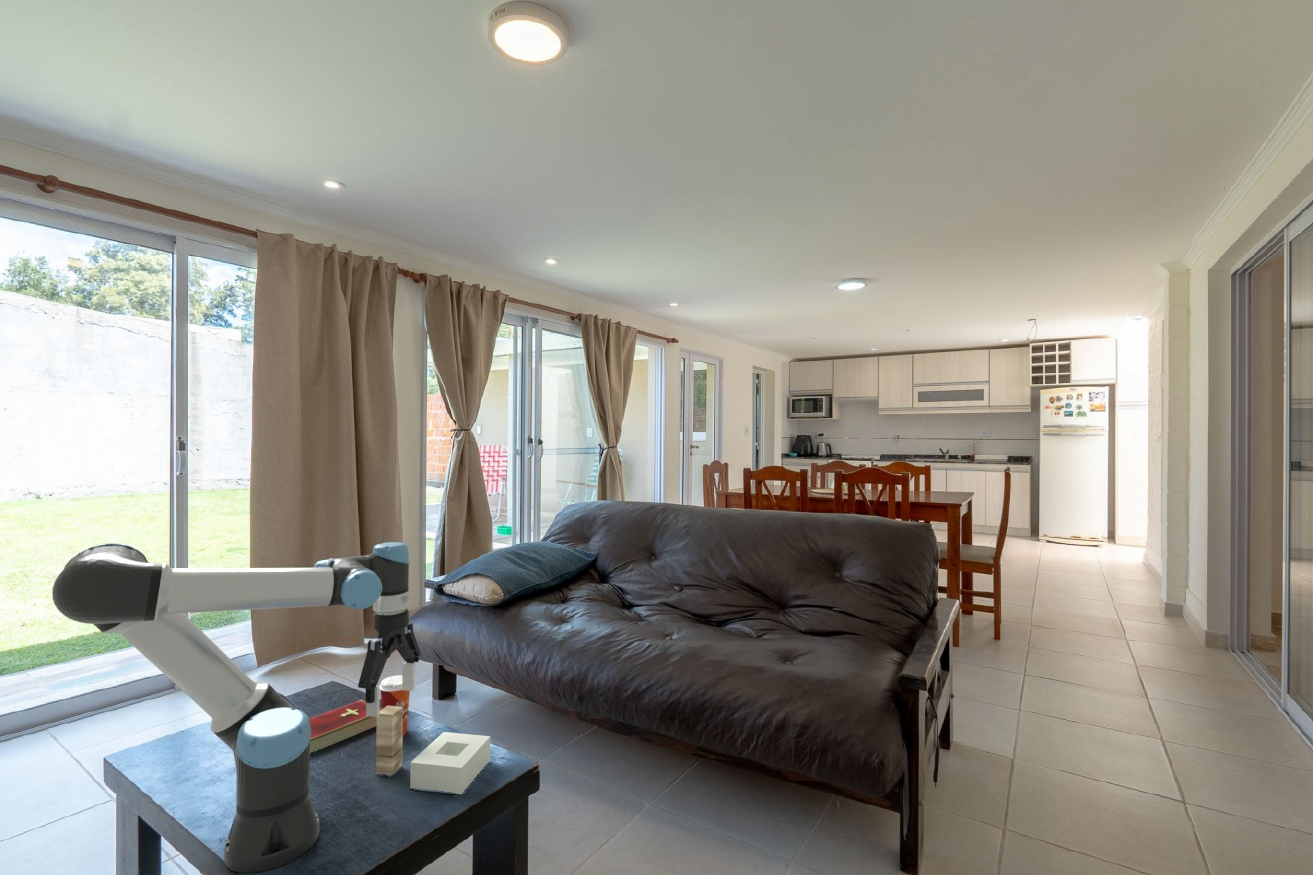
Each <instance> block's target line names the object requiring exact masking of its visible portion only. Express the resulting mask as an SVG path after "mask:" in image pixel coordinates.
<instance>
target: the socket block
mask: <svg viewBox="0 0 1313 875" xmlns="http://www.w3.org/2000/svg"><path fill="white" fill-rule="evenodd" d="M489 761H490V762H491V736H490V735H479V734H468V733H458V732H451V731H443V732H442V733H441V734H440V735H439V736H437V737H436V738H435V739H434V740H433V741H432V742H431V743H430V744H429V745H428V746H426V748H424V749H423V750H422V751H421V752H420V753H419V754H418V755H417V756H416V757H414V759H412V761H411V762H410V766H409V767H410V769H409V770H410V776H409V777H410V784H409V789H410V788H416V789H419V788H420V789H429V790H437V791H444V792H452V793H456V794H462V793H463V792H464V790H465V789H466V788H467V787H468V786H469V785H470V783H471V782H472V781H473V779H474V778H475V777H476V776H477V774H479V773H480V771H481V770H482V769H483V767H484V766H485V765H486V764H487V763H488V762H489ZM490 762H489V763H490ZM480 774H481V773H480ZM480 774H479V775H480ZM473 782H474V781H473ZM470 786H471V785H470ZM470 786H469V787H470ZM469 787H468V788H469ZM464 793H465V792H464ZM464 793H463V794H464Z"/></svg>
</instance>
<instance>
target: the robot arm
mask: <svg viewBox="0 0 1313 875" xmlns="http://www.w3.org/2000/svg"><path fill="white" fill-rule="evenodd" d="M409 576H410V554H409V547H408V545H407V544H406V543H404V542H399V541H398V542H397V541H395V542H394V541H391V542H390V541H387V542H383V543H378V544H375V545H374V547H373V551H372V553H370V554H365V555H357V556H356V555H355V556H348V557H338V558H334V557H331V558H329V559H324V560H318V561H317V562H315V564H314V565H313V567H246V568H245V567H241V568H239V567H234V568H233V567H226V568H223V567H222V568H213V567H212V568H211V567H210V568H173V567H171V566H170V565H168V564H167V563H166V562H149V561H148V558H147V557H146V556H145V554H144V553H143V552H142V551H140V550H139V549H137V548H134V547H133V546H130V545H127V544H123V543H116V542H115V543H114V542H113V543H112V542H111V543H110V542H109V543H103V544H98V545H94V546H91V547H88V548H87V549H85V550H83V551H80V552H78V553H77V554H76V555H75V556H73V557H72V558H70V560H68V562H67V563H66V564H65V565H64V567H63V569H62V570H61V571H60V573H59V574H58V576H57V577H56V578H55V580H54V583H53V586H52V595H51V596H52V601H53V603H54V605H55V607H56V609H57V611H58V612H59V613H61V614H62V615H63V616H64V617H66V618H67V619H69V620H72V621H75V622H78V623H83V624H90V625H94V627H96V628H97V629H98V630H99V631H100V632H101V633H103V634H120V636H122V637H123V638H124V639H125V640H126V641H127V642H128V643H130V645H132V646H133V647H134V648H135V649H136V650H137V651H138V652H140V654H142V655H143V656H144V657H145V658H146V659H147V660H149V662H150V663H152V665H153V666H154V667H156V668H157V669H158V670H159V671H160V672H161V673H163V674H164V676H166V677H167V678H168V679H169V680H170V681H171V682H172V683H173V684H175V685H176V686H177V687H178V688H179V689H180V690H181V691H183V693H184V694H185V695H187V696H188V697H189V698H190V699H191V700H192V701H193V702H194V703H195V704H197V706H199V707H200V708H201V709H202V710H203V711H204V712H205V713H206V714H207V715H208V716H209V717H211V723H210V731H211V732H212V733H213V734H215V735H216V737H218V739H220V740H221V742H223V743H224V744H226V745H227V747H228V748H229V749H230V750H231V751H232V752H233V759H234V764H235V770H236V772H235V773H236V799H235V800H236V803H235V804H236V806H235V808H236V809H235V815H234V819H233V822H232V824H231V827H230V828H229V829H230V830H229V833H228V836H227V839H226V840H225V842H224V843H225V844H224V849H223V863H224V866H225V867H226V868H227V869H229V870H230V871H233V872H236V873H242V874H243V873H244V874H249V873H251V874H252V873H253V874H254V873H259V872H265V871H268V870H272V869H275V868H278V867H281V866H283V865H285V864H288V863H290V862H292V861H294V860H295V859H297V858H299V857H300V856H302V855H304V854H305V853H306V852H308V851H309V850H310V849H311V848H312V847H313V846H314V844H315V843H316V842H317V840H318V838H319V835H320V818H319V814H318V813H317V812H316V811H315V806H314V803H313V800H312V797H311V795H310V776H311V774H310V772H311V770H310V768H311V767H310V766H311V756H310V754H311V753H310V739H311V727H310V721H309V719H310V718H309V716H308V715H307V714H306V712H304V711H303V710H301V709H297V708H295V705H294V702H292V701H291V700H290V698H289V697H287V696H286V695H284V694H282V693H280V692H279V691H277V690H276V689H274V688H273V687H272V685H270V683H269V682H267V681H265V680H264V681H263V680H262V681H253V679H251V678H250V677H249V675H247V674H246V673H245V672H244V671H243V670H242V669H241V668H240V667H239V666H238V665H237V664H236V663H235V662H234V661H233V660H232V659H231V658H230V657H229V656H228V655H227V654H226V653H225V652H224V651H222V649H221V648H220V647H219V646H217V644H215V643H214V641H212V640H211V639H210V637H208V635H206V634H205V632H204V631H202V630H201V628H199V627H198V626H197V625H196V624H195V622H193V621H192V619H190V618H189V617H188V616H187V615H186V614H188V613H207V612H209V613H210V612H228V611H249V610H250V611H251V610H271V609H272V610H274V609H275V610H276V609H289V608H290V609H292V608H294V609H295V608H312V607H313V608H314V607H315V608H316V607H317V608H318V607H338V606H339V607H341V606H342V607H343V606H345V607H346V606H347V607H348V608H351V609H354V610H364V609H367V608H369V607H371V606H373V607H372V610H373V612H374V613H373V614H372V615H373V619H372V620H373V629H374V631H376V632H377V639H370V640H368V642H367V651H366V654H365V660H364V662H363V665H362V669H361V674H360V677H359V680H358V685H357V688H358V689H365V701H366V716H371V717H378V716H379V707H380V689H379V687H380V685H378V683H379V680H380V679H381V676H382V673H383V670H384V668H385V666H386V663H387V661H388V659H389V658H390V657H391V655H392V653H394V652H395V651H397V652H398V654H399V655H400V656H401V657H402V659H403V661H404V662H403V663H402V664H401V668H402V674H401V675H402V690H405V691H410V692H413V691H415V663H419V661H420V656H421V650H420V647H419V644H418V641H417V638H416V636H415V632H414V626H413V625H414V624H413V623H412V622H410V610H409V609H408V608H409V606H410V605H409V604H410V603H409V601H410V597H409V594H410V593H409V592H410V589H409V588H410V587H409V586H410V582H409V581H410V580H409V579H410V577H409Z"/></svg>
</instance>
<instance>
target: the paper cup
mask: <svg viewBox="0 0 1313 875" xmlns="http://www.w3.org/2000/svg"><path fill="white" fill-rule="evenodd" d="M379 691H380V705H381V707H380V708H382V709H383V708H385V707H386V706H396V707H403V737H405V735H406V734H407V731H408V722H409V719H408V718H409V707H410V705H409V704H410V692H411V691H405V690H402V674H401V675H392V676H388V677H386V678H384V679H382V680H381V682H380V685H379Z"/></svg>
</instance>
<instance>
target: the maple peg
mask: <svg viewBox="0 0 1313 875" xmlns="http://www.w3.org/2000/svg"><path fill="white" fill-rule="evenodd" d="M403 737H404V736H403V707H396V706H386V707H385V708H383V709H382V710H381V711H379V716H378V717H377V726H376V736H375V738H376V739H375V740H376V744H375V745H376V746H375V747H376V750H375V756H376V757H375V759H376V760H375V775H376V774H390V775H392V774H394V773H395V772H396V771H397V770H398V769H399V768H400V767H401V766H402V767H403V749H404V747H403V740H404V739H403ZM395 774H396V773H395ZM395 774H394V775H395Z"/></svg>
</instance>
